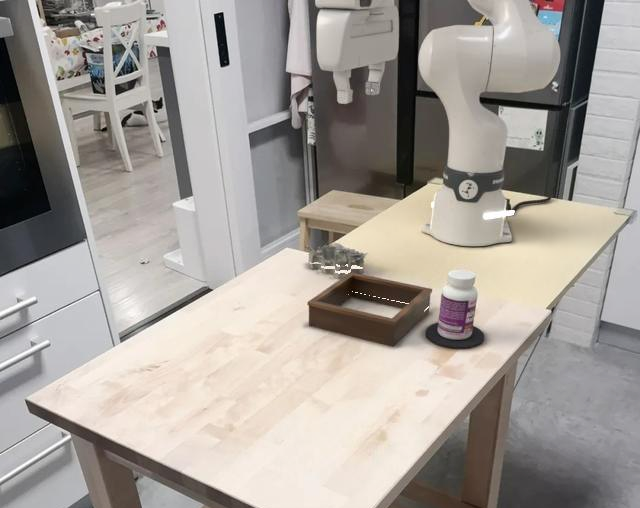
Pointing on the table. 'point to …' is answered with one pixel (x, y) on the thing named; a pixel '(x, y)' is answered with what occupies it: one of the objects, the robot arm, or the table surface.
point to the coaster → (469, 342)
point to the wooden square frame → (366, 325)
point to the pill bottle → (458, 305)
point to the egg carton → (336, 259)
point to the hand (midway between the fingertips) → (358, 98)
